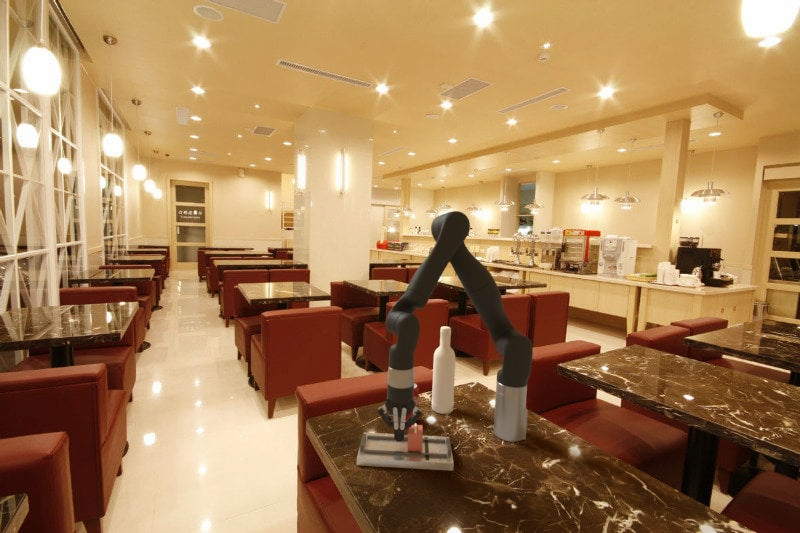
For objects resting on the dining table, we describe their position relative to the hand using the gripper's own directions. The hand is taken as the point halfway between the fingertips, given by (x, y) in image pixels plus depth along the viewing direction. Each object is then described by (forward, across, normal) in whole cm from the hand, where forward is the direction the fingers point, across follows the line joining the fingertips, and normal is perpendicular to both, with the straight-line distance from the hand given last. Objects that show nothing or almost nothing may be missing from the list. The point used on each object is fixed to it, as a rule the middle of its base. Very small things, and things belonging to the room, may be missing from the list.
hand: (398, 440), depth 106 cm
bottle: (+4, -14, -28) cm, 32 cm away
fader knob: (+1, -5, 0) cm, 5 cm away
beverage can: (+4, -2, -19) cm, 20 cm away
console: (+4, -2, 0) cm, 4 cm away
